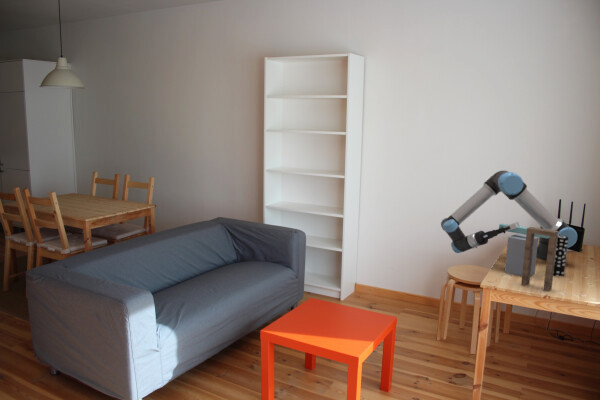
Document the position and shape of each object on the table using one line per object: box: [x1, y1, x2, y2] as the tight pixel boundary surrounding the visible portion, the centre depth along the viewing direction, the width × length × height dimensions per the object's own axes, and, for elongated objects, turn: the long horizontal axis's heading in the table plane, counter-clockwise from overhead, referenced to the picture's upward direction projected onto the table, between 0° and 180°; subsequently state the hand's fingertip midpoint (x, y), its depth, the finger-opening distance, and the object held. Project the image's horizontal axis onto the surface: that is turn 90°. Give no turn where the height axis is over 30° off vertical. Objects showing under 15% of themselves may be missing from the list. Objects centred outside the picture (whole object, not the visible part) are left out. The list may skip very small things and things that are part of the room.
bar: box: [498, 223, 549, 238], centre depth 240 cm, size 4×24×3 cm, turn 45°
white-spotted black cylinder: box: [553, 235, 568, 277], centre depth 242 cm, size 8×8×20 cm
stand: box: [520, 226, 558, 292], centre depth 220 cm, size 5×12×28 cm, turn 45°
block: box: [504, 233, 539, 277], centre depth 243 cm, size 11×11×19 cm
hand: (517, 224), depth 242 cm, fingers closed on bar, 3 cm apart
